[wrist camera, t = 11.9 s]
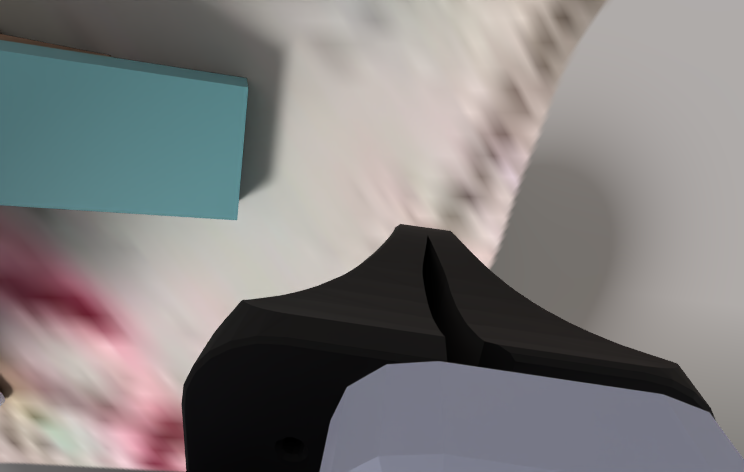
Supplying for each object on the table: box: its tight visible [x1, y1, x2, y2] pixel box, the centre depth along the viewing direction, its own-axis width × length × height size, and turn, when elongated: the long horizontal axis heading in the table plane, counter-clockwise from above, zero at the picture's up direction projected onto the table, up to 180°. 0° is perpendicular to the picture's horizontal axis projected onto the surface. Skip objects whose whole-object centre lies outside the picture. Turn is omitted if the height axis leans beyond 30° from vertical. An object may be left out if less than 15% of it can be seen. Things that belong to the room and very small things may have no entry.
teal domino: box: [0, 40, 248, 220], centre depth 17 cm, size 2×5×9 cm
